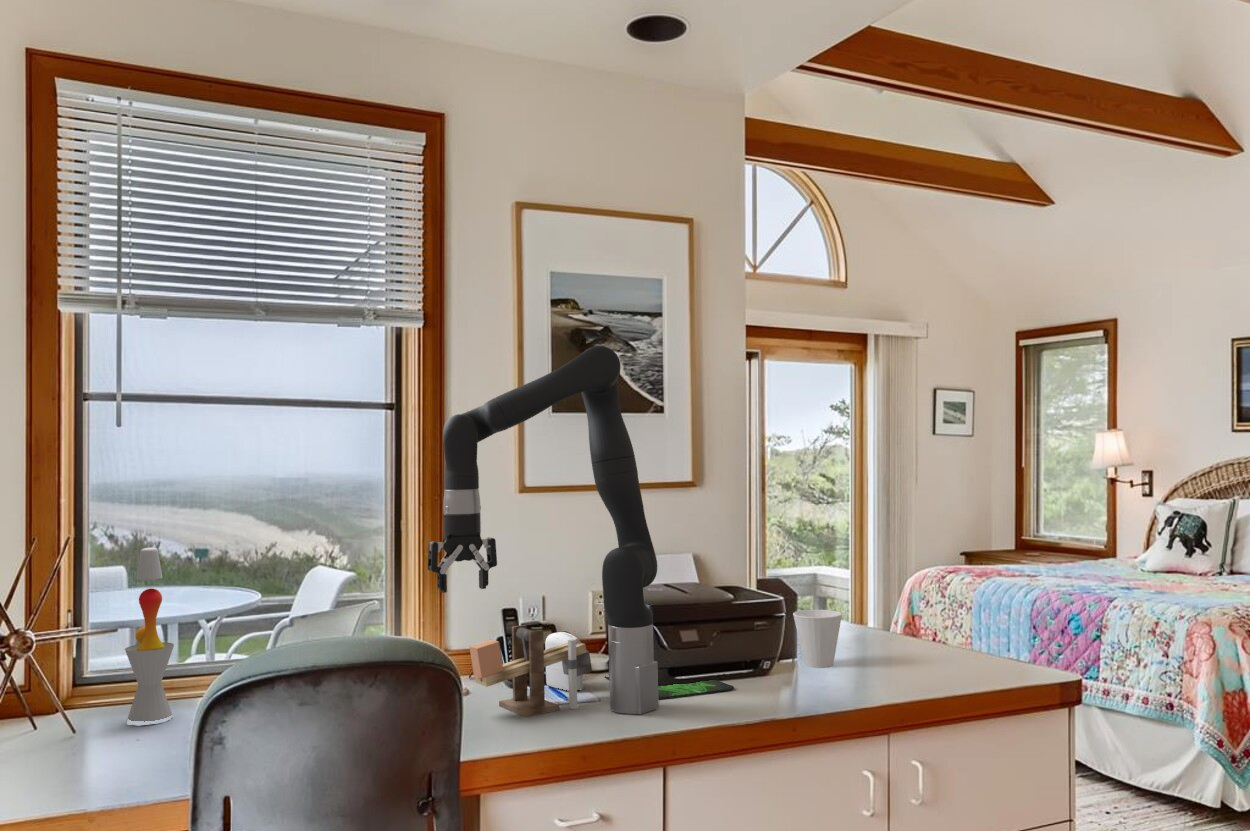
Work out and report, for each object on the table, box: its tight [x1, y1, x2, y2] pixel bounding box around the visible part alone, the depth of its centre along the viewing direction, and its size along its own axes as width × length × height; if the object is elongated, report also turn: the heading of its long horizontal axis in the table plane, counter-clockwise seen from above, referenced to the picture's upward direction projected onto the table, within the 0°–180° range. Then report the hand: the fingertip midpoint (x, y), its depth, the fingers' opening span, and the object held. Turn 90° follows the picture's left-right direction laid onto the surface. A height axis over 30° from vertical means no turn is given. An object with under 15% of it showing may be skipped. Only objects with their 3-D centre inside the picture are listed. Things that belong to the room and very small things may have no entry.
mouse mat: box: [604, 675, 735, 701], centre depth 224 cm, size 27×22×1 cm
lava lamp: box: [124, 547, 175, 722], centre depth 202 cm, size 9×9×35 cm
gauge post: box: [567, 639, 578, 710], centre depth 204 cm, size 2×2×14 cm
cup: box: [792, 609, 843, 669], centre depth 240 cm, size 12×12×12 cm
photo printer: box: [544, 631, 584, 692], centre depth 222 cm, size 10×4×12 cm, turn 39°
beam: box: [474, 627, 593, 688], centre depth 206 cm, size 25×6×12 cm, turn 125°
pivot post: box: [498, 624, 560, 717], centre depth 205 cm, size 8×11×16 cm
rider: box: [469, 639, 504, 681], centre depth 200 cm, size 5×3×7 cm
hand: (463, 590), depth 203 cm, fingers open, 8 cm apart
